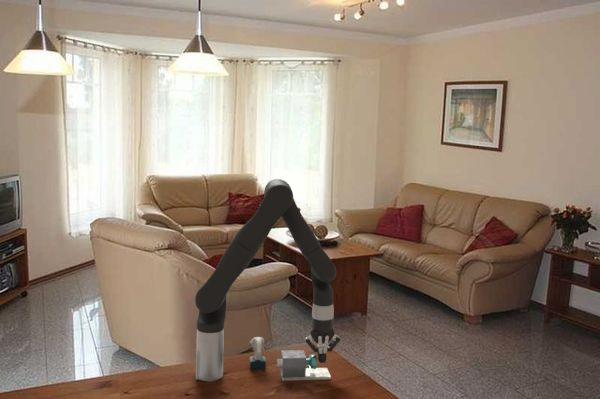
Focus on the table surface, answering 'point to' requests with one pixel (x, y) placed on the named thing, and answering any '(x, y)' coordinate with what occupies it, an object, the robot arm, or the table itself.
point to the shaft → (309, 362)
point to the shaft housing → (300, 367)
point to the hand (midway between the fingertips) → (322, 362)
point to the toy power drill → (257, 354)
